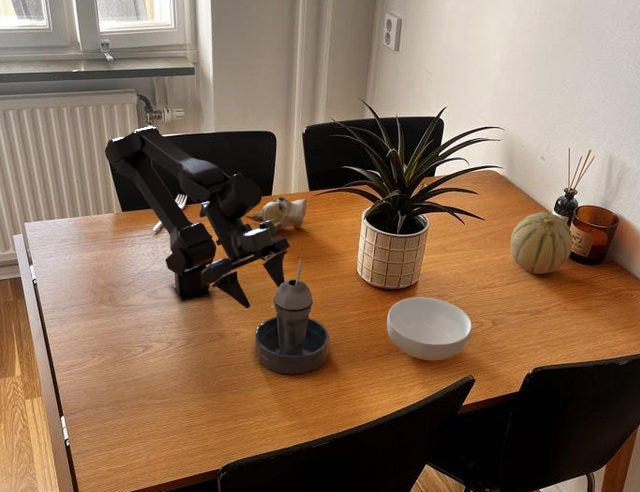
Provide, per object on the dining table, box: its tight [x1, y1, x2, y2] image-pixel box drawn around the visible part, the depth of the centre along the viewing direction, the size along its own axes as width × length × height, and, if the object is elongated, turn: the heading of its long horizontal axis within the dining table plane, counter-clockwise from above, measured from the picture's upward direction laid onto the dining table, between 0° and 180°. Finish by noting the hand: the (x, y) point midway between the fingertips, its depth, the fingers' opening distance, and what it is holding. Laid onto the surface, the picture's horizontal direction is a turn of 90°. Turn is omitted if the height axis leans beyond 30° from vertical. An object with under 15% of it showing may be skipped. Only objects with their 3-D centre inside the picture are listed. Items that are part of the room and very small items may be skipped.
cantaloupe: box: [509, 211, 573, 275], centre depth 170 cm, size 15×15×15 cm
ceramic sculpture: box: [245, 196, 307, 231], centre depth 180 cm, size 11×9×15 cm
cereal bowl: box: [386, 296, 473, 361], centre depth 141 cm, size 17×17×7 cm
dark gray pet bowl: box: [254, 316, 330, 375], centre depth 136 cm, size 14×14×4 cm
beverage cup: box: [273, 258, 314, 356], centre depth 132 cm, size 7×7×20 cm
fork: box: [152, 193, 188, 233], centre depth 182 cm, size 3×20×2 cm, turn 170°
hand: (266, 299), depth 136 cm, fingers open, 9 cm apart
